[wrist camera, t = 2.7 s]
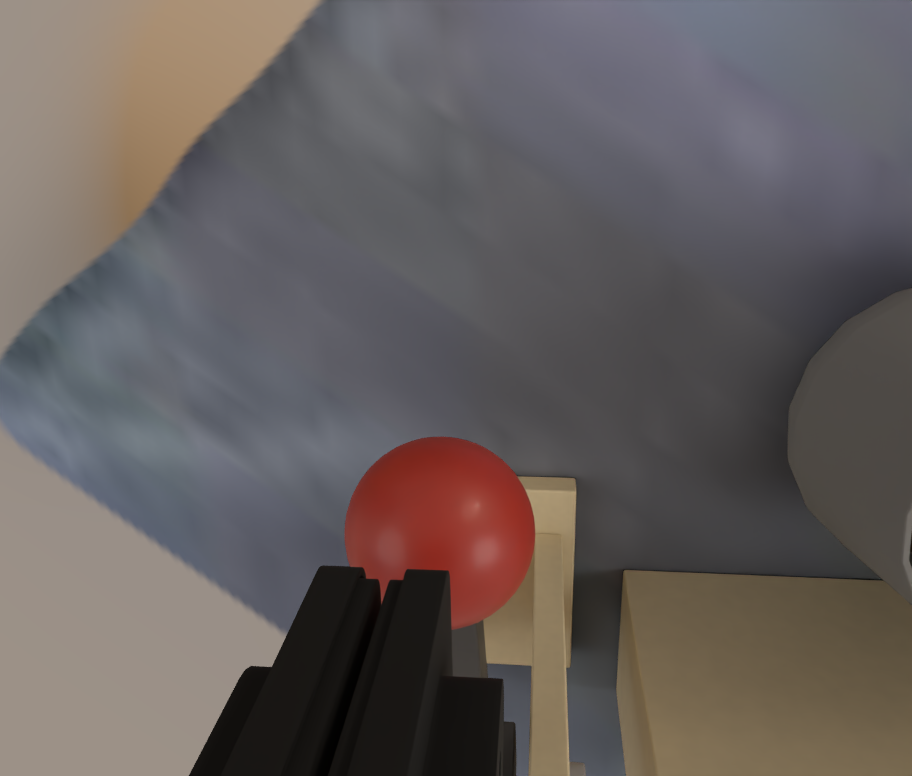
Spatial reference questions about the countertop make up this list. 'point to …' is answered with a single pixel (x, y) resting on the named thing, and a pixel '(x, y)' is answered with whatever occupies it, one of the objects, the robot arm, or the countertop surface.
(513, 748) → the red knob lever
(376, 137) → the countertop surface
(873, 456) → the cup
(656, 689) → the toaster
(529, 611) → the lever bracket
